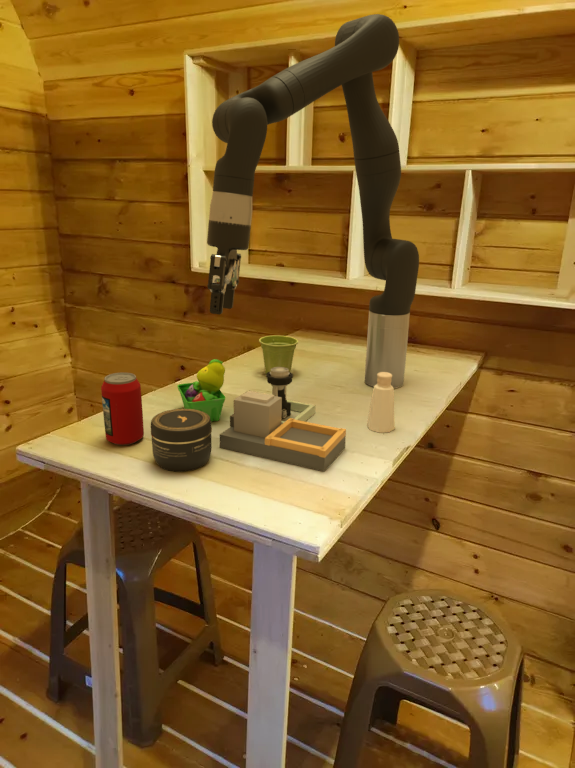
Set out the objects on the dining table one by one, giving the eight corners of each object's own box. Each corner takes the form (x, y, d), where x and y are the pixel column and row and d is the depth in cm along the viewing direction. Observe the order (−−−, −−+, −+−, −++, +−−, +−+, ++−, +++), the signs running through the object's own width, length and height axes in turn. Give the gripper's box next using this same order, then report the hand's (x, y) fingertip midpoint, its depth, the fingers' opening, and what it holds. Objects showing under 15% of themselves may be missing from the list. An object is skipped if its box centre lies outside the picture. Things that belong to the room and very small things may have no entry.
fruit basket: (177, 407, 122) (174, 355, 119) (218, 402, 125) (217, 351, 122) (188, 427, 112) (186, 371, 109) (233, 421, 115) (232, 367, 112)
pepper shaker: (393, 434, 111) (397, 379, 107) (364, 431, 112) (368, 376, 109) (396, 423, 116) (400, 370, 112) (368, 420, 117) (372, 368, 114)
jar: (185, 442, 106) (184, 403, 104) (224, 459, 100) (224, 417, 98) (140, 461, 99) (137, 419, 96) (179, 480, 93) (177, 436, 90)
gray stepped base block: (246, 427, 113) (245, 382, 110) (345, 448, 105) (347, 400, 102) (218, 447, 104) (217, 399, 101) (324, 471, 96) (326, 420, 93)
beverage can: (112, 431, 110) (107, 370, 106) (148, 432, 110) (144, 371, 106) (100, 447, 104) (94, 383, 100) (138, 448, 104) (133, 384, 100)
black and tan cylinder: (277, 426, 114) (278, 377, 110) (256, 419, 117) (256, 371, 113) (297, 415, 119) (298, 369, 115) (276, 409, 122) (276, 363, 118)
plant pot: (290, 367, 149) (290, 334, 147) (302, 378, 141) (303, 343, 138) (254, 370, 147) (254, 336, 144) (265, 382, 138) (265, 346, 135)
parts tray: (264, 403, 125) (264, 395, 124) (314, 413, 120) (315, 404, 120) (237, 422, 115) (237, 414, 114) (291, 433, 110) (291, 424, 110)
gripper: (242, 222, 97) (233, 319, 101) (257, 224, 111) (248, 309, 115) (198, 217, 98) (191, 313, 102) (219, 219, 112) (211, 303, 116)
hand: (221, 310), depth 109 cm, fingers open, 8 cm apart
